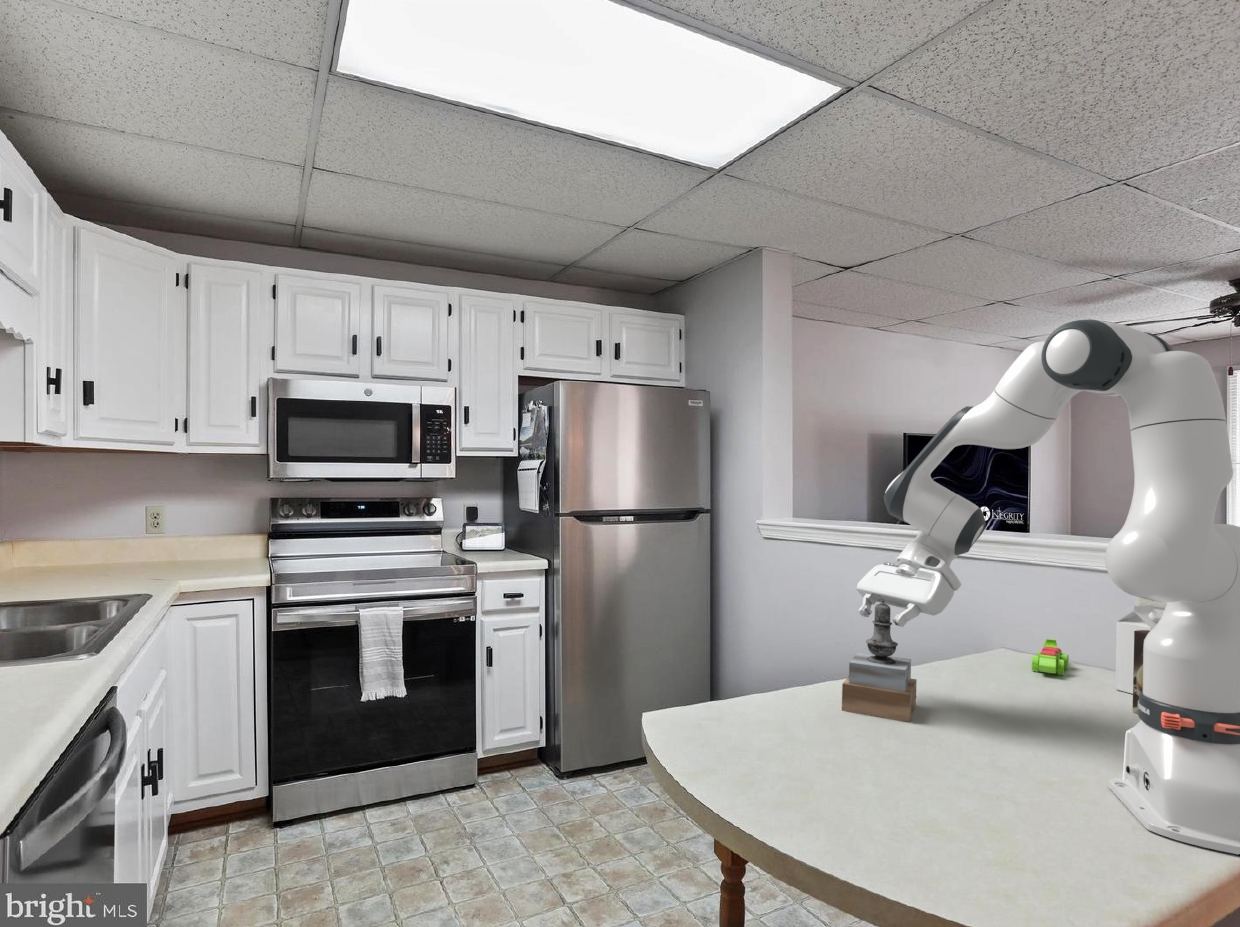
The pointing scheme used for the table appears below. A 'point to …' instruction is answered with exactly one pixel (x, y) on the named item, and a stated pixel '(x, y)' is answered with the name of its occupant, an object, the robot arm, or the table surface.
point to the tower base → (880, 688)
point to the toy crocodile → (1050, 659)
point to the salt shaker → (881, 637)
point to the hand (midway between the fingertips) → (879, 619)
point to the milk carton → (1131, 642)
